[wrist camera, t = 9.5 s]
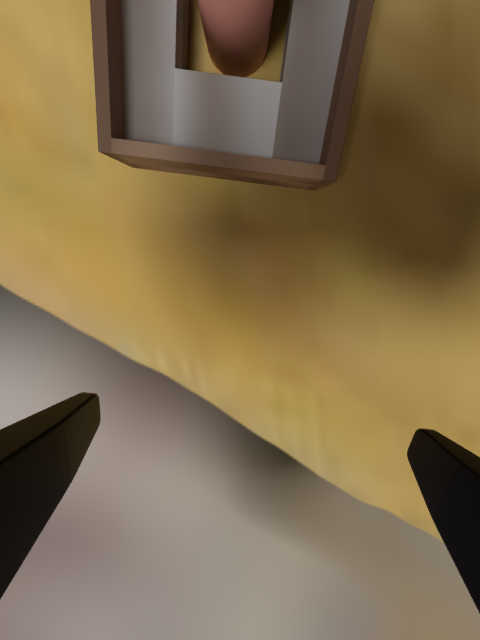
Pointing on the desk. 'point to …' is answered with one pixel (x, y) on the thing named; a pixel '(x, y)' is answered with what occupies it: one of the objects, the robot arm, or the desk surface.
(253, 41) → the peg
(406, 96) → the desk surface
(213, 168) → the square frame
